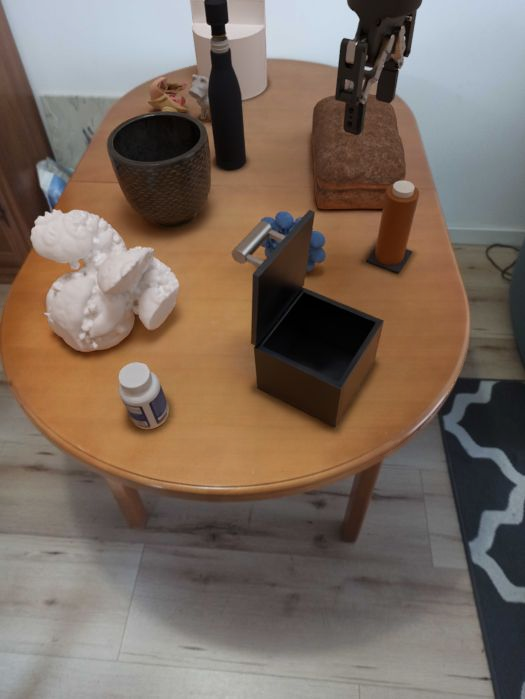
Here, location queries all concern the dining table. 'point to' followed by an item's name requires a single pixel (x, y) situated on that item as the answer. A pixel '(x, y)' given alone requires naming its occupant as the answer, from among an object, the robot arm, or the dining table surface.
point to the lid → (275, 271)
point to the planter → (162, 166)
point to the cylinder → (236, 43)
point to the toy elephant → (166, 95)
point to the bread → (355, 155)
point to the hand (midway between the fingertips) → (369, 115)
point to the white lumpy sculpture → (100, 281)
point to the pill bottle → (142, 396)
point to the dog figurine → (200, 93)
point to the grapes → (284, 226)
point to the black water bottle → (224, 92)
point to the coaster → (393, 268)
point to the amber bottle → (396, 222)
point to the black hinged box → (317, 355)
